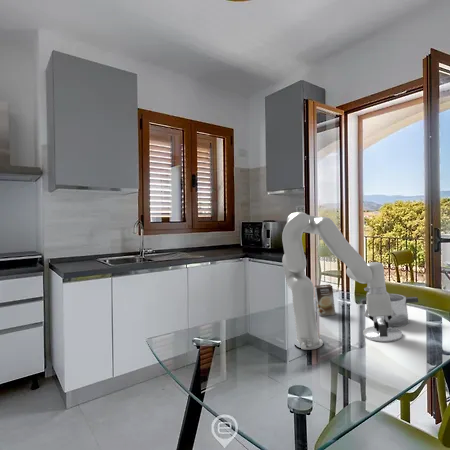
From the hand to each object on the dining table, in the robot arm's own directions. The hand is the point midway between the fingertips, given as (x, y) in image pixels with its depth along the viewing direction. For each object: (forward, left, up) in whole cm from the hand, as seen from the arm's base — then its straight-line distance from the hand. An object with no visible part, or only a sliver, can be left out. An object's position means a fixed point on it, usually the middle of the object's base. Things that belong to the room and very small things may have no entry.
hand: (381, 329), depth 147 cm
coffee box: (+32, +24, -3) cm, 40 cm away
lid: (0, 0, -2) cm, 2 cm away
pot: (+17, -7, -3) cm, 18 cm away
